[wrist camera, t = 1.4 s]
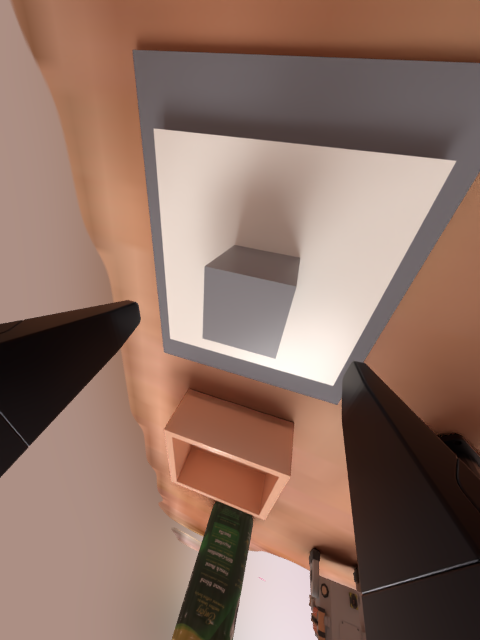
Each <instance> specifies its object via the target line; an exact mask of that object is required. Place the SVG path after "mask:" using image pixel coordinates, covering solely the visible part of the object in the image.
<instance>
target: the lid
mask: <svg viewBox="0 0 480 640" xmlns="http://www.w3.org/2000/svg"><path fill="white" fill-rule="evenodd" d="M154 141H155V154H156V166H157V179H158V192H159V204H160V217H161V229H162V242H163V255H164V267H165V280H166V293H167V305H168V318H169V330H170V339H173V340H176V341H180V342H183V343H187V344H190V345H194V346H197V347H200V348H204V349H207V350H211V351H214V352H218V353H221V354H225V355H228V356H232V357H235V358H238V359H242V360H245V361H249V362H252V363H256V364H259V365H263V366H266V367H269V368H273V369H276V370H280V371H283V372H287V373H290V374H294V375H297V376H301V377H304V378H307V379H311V380H314V381H318V382H321V383H325V384H328V385H332V386H333V385H334V383H335V382H336V380H337V378H338V376H339V374H340V372H341V371H342V369H343V367H344V365H345V363H346V362H347V360H348V358H349V356H350V354H351V352H352V351H353V349H354V347H355V345H356V343H357V341H358V340H359V338H360V336H361V334H362V332H363V331H364V329H365V327H366V325H367V323H368V321H369V320H370V318H371V316H372V314H373V312H374V310H375V309H376V307H377V305H378V303H379V301H380V300H381V298H382V296H383V294H384V292H385V290H386V289H387V287H388V285H389V283H390V281H391V279H392V278H393V276H394V274H395V272H396V270H397V268H398V267H399V265H400V263H401V261H402V259H403V258H404V256H405V254H406V252H407V250H408V248H409V247H410V245H411V243H412V241H413V239H414V237H415V236H416V234H417V232H418V230H419V228H420V227H421V225H422V223H423V221H424V219H425V217H426V216H427V214H428V212H429V210H430V208H431V206H432V205H433V203H434V201H435V199H436V197H437V196H438V194H439V192H440V190H441V188H442V186H443V185H444V183H445V181H446V179H447V177H448V175H449V174H450V172H451V170H452V168H453V166H454V165H455V163H456V161H453V160H444V159H434V158H425V157H416V156H406V155H397V154H388V153H378V152H369V151H360V150H350V149H341V148H332V147H322V146H313V145H304V144H294V143H285V142H276V141H266V140H257V139H248V138H238V137H229V136H220V135H210V134H201V133H192V132H182V131H173V130H164V129H154Z"/></svg>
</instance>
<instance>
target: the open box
mask: <svg viewBox="0 0 480 640" xmlns="http://www.w3.org/2000/svg"><path fill="white" fill-rule="evenodd" d="M293 432H294V423H292V422H289V421H286V420H283V419H280V418H277V417H274V416H271V415H268V414H265V413H262V412H259V411H256V410H252V409H249V408H246V407H243V406H240V405H237V404H234V403H231V402H228V401H225V400H222V399H219V398H216V397H213V396H210V395H207V394H204V393H201V392H198V391H195V390H191V389H188V391H187V392H186V394H185V396H184V397H183V399H182V401H181V402H180V404H179V405H178V407H177V409H176V410H175V412H174V414H173V415H172V417H171V419H170V420H169V422H168V423H167V425H166V427H165V428H164V434H165V441H166V448H167V455H168V462H169V469H170V476H171V482H173V483H176V484H178V485H180V486H183V487H185V488H188V489H190V490H192V491H195V492H197V493H200V494H202V495H205V496H207V497H209V498H212V499H214V500H217V501H219V502H221V503H224V504H226V505H229V506H231V507H233V508H236V509H238V510H241V511H243V512H246V513H248V514H250V515H253V516H255V517H258V518H260V519H262V520H265V519H266V517H267V515H268V514H269V512H270V510H271V509H272V507H273V505H274V504H275V502H276V500H277V499H278V497H279V495H280V494H281V492H282V490H283V488H284V487H285V485H286V483H287V482H288V480H289V478H290V477H291V462H292V447H293Z"/></svg>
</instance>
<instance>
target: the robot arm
mask: <svg viewBox="0 0 480 640" xmlns="http://www.w3.org/2000/svg"><path fill="white" fill-rule="evenodd" d="M140 320H141V317H140V311H139V305H138V303H136V302H133V301H130V300H126V301H121V302H115V303H110V304H105V305H99V306H94V307H89V308H84V309H78V310H73V311H68V312H62V313H57V314H52V315H46V316H41V317H36V318H30V319H25V320H20V321H14V322H9V323H3V324H0V477H1V476H2V475H3V474H4V473H5V472H6V471H7V470H8V469H9V468H10V467H11V466H12V465H13V463H14V462H15V461H16V460H17V459H18V458H19V457H20V456H21V455H22V454H23V453H24V452H25V451H26V449H27V448H28V446H30V445H31V444H32V442H34V441H35V440H36V439H37V437H38V436H39V435H40V434H41V433H42V432H43V431H44V430H45V429H46V428H47V427H48V426H49V425H50V423H51V422H52V421H53V420H54V419H55V418H56V417H57V416H58V415H59V414H60V412H62V411H63V410H64V408H65V407H66V406H67V405H68V404H69V403H70V402H71V401H72V400H73V399H74V398H75V397H76V396H77V395H78V393H79V392H80V391H81V390H82V389H83V388H84V387H85V386H86V385H87V384H88V383H89V382H90V381H91V380H92V378H93V377H94V376H95V375H96V374H97V373H98V372H99V371H100V370H101V369H102V368H103V367H104V366H105V365H106V363H107V362H108V361H109V360H110V359H111V358H112V357H113V356H114V355H115V354H116V353H117V352H118V350H119V349H120V348H121V347H122V346H123V344H124V343H125V342H126V340H127V339H128V338H129V336H130V335H131V334H132V332H133V331H134V330H135V329H136V327H137V326H138V325H139V323H140ZM342 427H343V436H344V444H345V453H346V462H347V471H348V480H349V489H350V498H351V507H352V516H353V525H354V534H355V543H356V552H357V561H358V569H359V578H360V587H361V593H362V595H361V598H362V607H363V616H364V625H365V634H366V640H480V455H479V454H478V453H477V452H476V451H475V450H474V449H473V447H472V446H471V445H470V444H469V443H468V442H467V441H466V440H465V439H464V438H463V437H462V436H461V435H458V434H452V435H447V436H442V437H438V436H437V435H436V434H435V433H434V432H433V431H432V430H431V429H430V428H429V427H428V426H427V425H426V424H425V423H424V422H423V421H422V420H421V419H420V418H419V417H418V416H417V415H416V414H415V413H414V412H413V411H412V410H411V409H410V408H409V407H408V406H407V405H406V404H405V403H404V402H403V401H402V400H401V399H400V398H399V397H398V396H397V395H396V394H395V393H394V392H393V391H392V390H391V389H390V388H389V387H388V386H387V385H386V384H385V383H384V382H383V381H382V380H381V379H380V378H379V377H378V376H377V375H376V374H375V373H374V372H373V371H372V370H371V369H370V368H369V367H368V366H367V365H366V364H365V363H362V362H358V361H352V362H351V363H350V365H349V367H348V369H347V370H346V372H345V374H344V376H343V379H342Z"/></svg>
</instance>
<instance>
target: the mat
mask: <svg viewBox="0 0 480 640" xmlns="http://www.w3.org/2000/svg"><path fill="white" fill-rule="evenodd" d="M133 60H134V69H135V79H136V88H137V98H138V108H139V117H140V127H141V136H142V146H143V155H144V165H145V175H146V184H147V194H148V203H149V213H150V223H151V232H152V242H153V251H154V261H155V270H156V280H157V290H158V299H159V309H160V318H161V328H162V338H163V347H164V352H165V353H168V354H171V355H174V356H178V357H181V358H184V359H188V360H191V361H194V362H198V363H201V364H204V365H207V366H211V367H214V368H217V369H221V370H224V371H227V372H231V373H234V374H237V375H240V376H244V377H247V378H250V379H254V380H257V381H260V382H263V383H267V384H270V385H273V386H277V387H280V388H283V389H287V390H290V391H293V392H296V393H300V394H303V395H306V396H310V397H313V398H316V399H320V400H323V401H326V402H329V403H333V404H336V405H338V403H339V401H340V400H341V398H342V379H343V376H344V374H345V372H346V370H347V369H348V367H349V365H350V363H351V362H352V361H358V362H362V363H363V362H364V360H365V359H366V357H367V355H368V354H369V352H370V350H371V349H372V347H373V346H374V344H375V342H376V341H377V339H378V337H379V336H380V334H381V332H382V331H383V329H384V328H385V326H386V324H387V323H388V321H389V319H390V318H391V316H392V314H393V313H394V311H395V309H396V308H397V306H398V305H399V303H400V301H401V300H402V298H403V296H404V295H405V293H406V291H407V290H408V288H409V287H410V285H411V283H412V282H413V280H414V278H415V277H416V275H417V273H418V272H419V270H420V269H421V267H422V265H423V264H424V262H425V260H426V259H427V257H428V255H429V254H430V252H431V250H432V249H433V247H434V246H435V244H436V242H437V241H438V239H439V237H440V236H441V234H442V232H443V231H444V229H445V228H446V226H447V224H448V223H449V221H450V219H451V218H452V216H453V214H454V213H455V211H456V209H457V208H458V206H459V205H460V203H461V201H462V200H463V198H464V196H465V195H466V193H467V191H468V190H469V188H470V187H471V185H472V183H473V182H474V180H475V178H476V177H477V175H478V173H479V172H480V63H465V62H439V61H413V60H386V59H360V58H334V57H308V56H281V55H255V54H229V53H203V52H176V51H150V50H133ZM154 129H164V130H173V131H182V132H192V133H201V134H210V135H220V136H229V137H238V138H248V139H257V140H266V141H276V142H285V143H294V144H304V145H313V146H322V147H332V148H341V149H350V150H360V151H369V152H378V153H388V154H397V155H406V156H416V157H425V158H434V159H444V160H453V161H456V163H455V165H454V166H453V168H452V170H451V172H450V174H449V175H448V177H447V179H446V181H445V183H444V185H443V186H442V188H441V190H440V192H439V194H438V196H437V197H436V199H435V201H434V203H433V205H432V206H431V208H430V210H429V212H428V214H427V216H426V217H425V219H424V221H423V223H422V225H421V227H420V228H419V230H418V232H417V234H416V236H415V237H414V239H413V241H412V243H411V245H410V247H409V248H408V250H407V252H406V254H405V256H404V258H403V259H402V261H401V263H400V265H399V267H398V268H397V270H396V272H395V274H394V276H393V278H392V279H391V281H390V283H389V285H388V287H387V289H386V290H385V292H384V294H383V296H382V298H381V300H380V301H379V303H378V305H377V307H376V309H375V310H374V312H373V314H372V316H371V318H370V320H369V321H368V323H367V325H366V327H365V329H364V331H363V332H362V334H361V336H360V338H359V340H358V341H357V343H356V345H355V347H354V349H353V351H352V352H351V354H350V356H349V358H348V360H347V362H346V363H345V365H344V367H343V369H342V371H341V372H340V374H339V376H338V378H337V380H336V382H335V383H334V385H333V386H332V385H328V384H325V383H321V382H318V381H314V380H311V379H307V378H304V377H301V376H297V375H294V374H290V373H287V372H283V371H280V370H276V369H273V368H269V367H266V366H263V365H259V364H256V363H252V362H249V361H245V360H242V359H238V358H235V357H232V356H228V355H225V354H221V353H218V352H214V351H211V350H207V349H204V348H200V347H197V346H194V345H190V344H187V343H183V342H180V341H176V340H173V339H170V330H169V318H168V305H167V293H166V280H165V267H164V255H163V242H162V229H161V217H160V204H159V192H158V179H157V166H156V154H155V141H154Z"/></svg>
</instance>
